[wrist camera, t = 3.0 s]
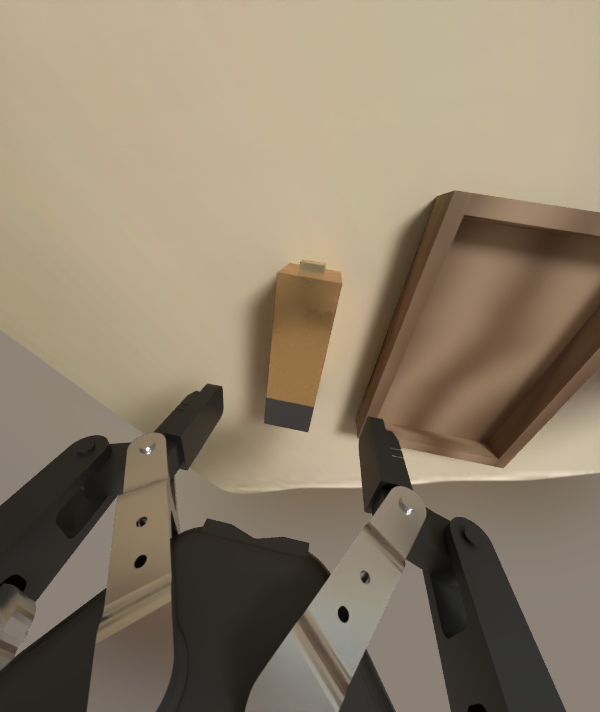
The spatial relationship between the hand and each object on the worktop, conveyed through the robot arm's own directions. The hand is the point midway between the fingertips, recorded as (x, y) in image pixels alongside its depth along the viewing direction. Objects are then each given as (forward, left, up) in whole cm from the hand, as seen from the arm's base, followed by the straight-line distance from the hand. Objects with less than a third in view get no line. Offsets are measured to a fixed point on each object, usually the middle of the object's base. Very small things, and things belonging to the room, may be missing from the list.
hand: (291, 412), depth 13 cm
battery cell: (-1, 0, -10) cm, 10 cm away
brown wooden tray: (+13, +2, -10) cm, 17 cm away
